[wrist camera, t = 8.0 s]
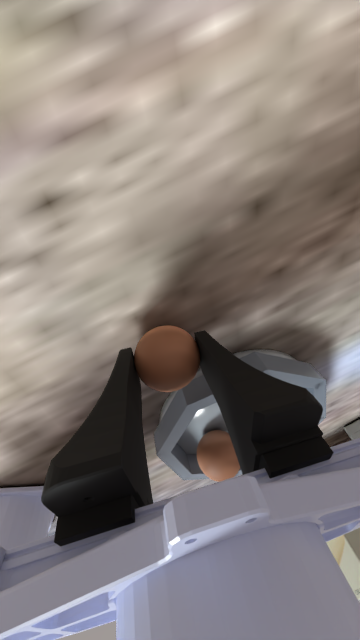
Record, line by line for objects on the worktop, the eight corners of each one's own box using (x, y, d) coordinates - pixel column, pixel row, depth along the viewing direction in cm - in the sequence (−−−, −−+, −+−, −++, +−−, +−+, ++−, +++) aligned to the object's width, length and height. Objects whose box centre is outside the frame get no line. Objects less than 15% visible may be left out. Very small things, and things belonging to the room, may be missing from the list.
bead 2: (217, 443, 23) (235, 487, 20) (184, 445, 21) (197, 493, 18) (237, 420, 21) (259, 464, 18) (202, 420, 20) (220, 469, 17)
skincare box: (293, 452, 30) (380, 593, 20) (319, 449, 31) (412, 579, 21) (272, 476, 33) (338, 609, 23) (296, 472, 34) (369, 596, 25)
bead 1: (177, 363, 17) (190, 409, 14) (124, 355, 15) (127, 404, 12) (199, 320, 15) (221, 361, 12) (143, 306, 14) (151, 348, 10)
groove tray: (253, 451, 27) (265, 475, 25) (137, 451, 22) (140, 482, 20) (334, 363, 21) (359, 385, 19) (201, 333, 16) (215, 359, 13)
